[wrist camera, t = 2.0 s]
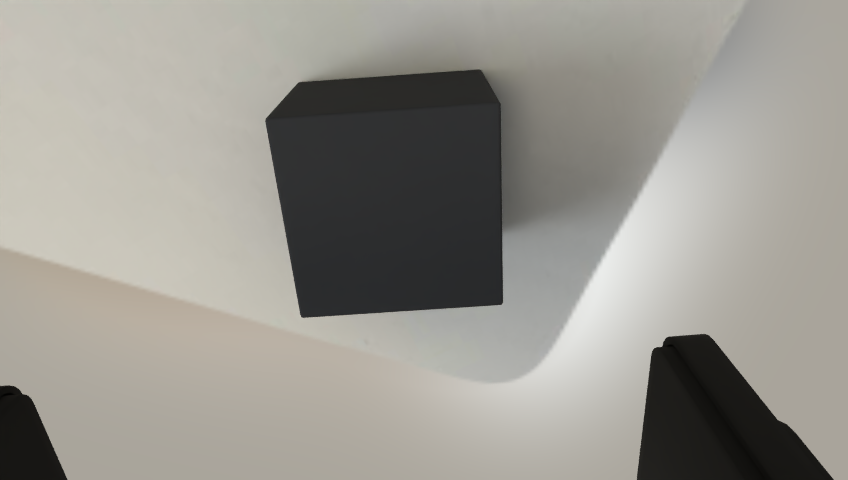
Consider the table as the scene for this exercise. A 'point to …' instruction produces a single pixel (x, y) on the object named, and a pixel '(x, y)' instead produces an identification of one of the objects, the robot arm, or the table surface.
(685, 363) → the robot arm
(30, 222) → the table surface
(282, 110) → the black cube block
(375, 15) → the table surface
